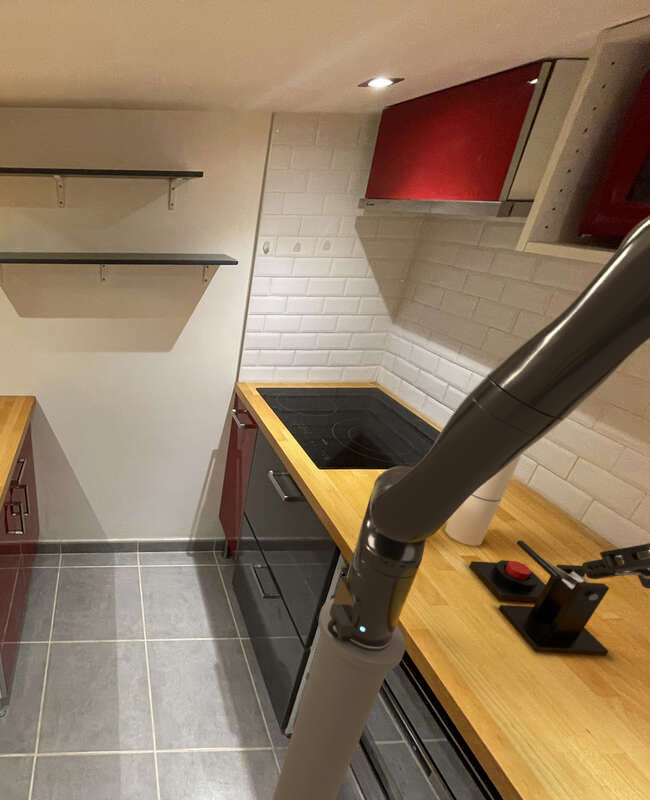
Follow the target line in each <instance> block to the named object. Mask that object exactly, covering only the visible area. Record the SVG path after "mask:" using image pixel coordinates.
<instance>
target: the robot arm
mask: <svg viewBox="0 0 650 800" xmlns="http://www.w3.org/2000/svg"><path fill="white" fill-rule="evenodd" d="M649 340H650V215H648V216H646V217H645V218H643V219H642V220H641V221H639V222H638V223H637V224H636V225H634V227H632V228H631V230H629V232H628V233H627V234H626V236H624V238H623V240H622V241H621V243H620V244H619V247H618V248H617V250H616V251H615V252H614V254H613V255H612V256H611V257H610V259H609V260H608V261H607V262H606V264H604V266H603V267H602V268H601V269H600V271H599V272H598V273H597V274H596V276H595V277H594V278H593V279H592V280H591V281H590V282H589V284H588V285H587V286H586V287H585V288H584V289H583V290H582V291H581V292H580V294H579V295H578V296H577V297H576V298H575V299H574V300H573V301H572V303H570V305H569V306H568V307H567V308H565V310H564V311H562V312H561V313H560V314H559V315H558V316H557V317H556V318H555V319H553V320H552V321H551V322H550V323H548V324H546V326H544V327H542V329H540V330H539V331H538V332H536V333H535V334H533V336H531V337H530V338H528V339H527V340H525V342H523V343H522V344H520V346H518V347H517V348H516V349H514V350H513V351H512V352H511V353H509V355H507V356H506V357H505V358H504V359H503V360H502V361H500V362H499V363H498V364H497V365H496V366H495V367H494V368H493V369H492V370H491V371H490V372H488V374H487V375H486V376H485V377H484V378H482V380H481V381H480V382H479V383H478V384H477V385H476V386H475V387H474V388H473V389H472V390H471V391H470V392H469V393H468V394H467V395H466V396H465V397H464V398H463V399H462V401H461V402H460V403H459V404H458V406H457V407H456V408H455V410H454V411H453V412H452V414H451V416H450V418H449V419H448V420H447V421H446V423H445V425H444V427H443V428H442V429H441V431H440V433H439V435H438V436H437V438H436V439H435V442H434V443H433V444H432V446H431V448H430V449H429V451H427V453H426V454H425V456H424V457H423V458H422V459H421V460H420V461H418V463H417V464H416V465H415V466H409V465H408V466H407V465H398V466H393V467H391V468H388V469H386V470H384V471H383V472H382V473H380V474H379V475H378V477H377V478H376V479H375V480H374V483H373V485H372V489H371V493H370V494H369V495H370V496H369V499H368V502H367V506H366V509H365V513H364V516H363V519H362V523H361V525H360V526H361V527H360V530H359V534H358V537H357V541H356V545H355V548H354V552H353V554H352V558H351V561H350V564H349V568H348V571H347V573H346V576H343V575H342V576H341V577H340V578H339V582H338V585H337V589H336V593H335V595H334V598H335V599H334V602H333V604H332V606H331V609H330V613H329V614H330V616H331V618H332V619H331V620H330V621H329V623H328V631H329V632H330V633H331V634H332V635H333V637H334V638H337V637H338V634H339V636H341V638H342V640H343V641H344V642H350V643H352V644H353V645H355V646H357V647H359V648H362V649H365V650H369V651H381V650H384V649H386V648H387V647H388V646H389V644H390V642H391V639H392V635H393V632H394V630H395V627H396V625H398V622H399V619H400V616H401V614H402V613H403V612H402V611H403V609H404V607H405V604H406V602H407V599H408V596H409V594H410V591H411V588H412V586H413V584H414V581H415V578H416V577H417V574H418V571H419V569H420V566H421V564H422V560H423V556H424V551H425V548H426V547H425V546H426V542H427V539H428V538H430V537H432V536H433V535H435V534H436V533H437V532H438V531H439V530H440V529H441V528H442V527H443V526H444V525H445V524H446V522H448V521H449V518H450V517H451V516H452V515H453V513H454V512H455V511H456V510H457V509H458V508H459V507H460V506H461V505H462V504H463V503H464V502H465V501H466V500H467V499H468V498H469V497H470V496H471V495H472V494H473V493H474V492H475V491H476V490H477V489H478V488H479V487H481V486H482V485H483V484H484V483H486V482H487V481H488V480H490V479H491V478H492V477H493V476H495V475H496V474H497V473H499V472H500V471H501V470H502V469H504V468H505V467H506V466H507V465H509V464H510V463H511V462H512V461H513V460H515V459H516V458H517V457H518V456H519V455H521V454H522V455H523V453H525V451H527V450H528V449H530V448H531V447H532V446H534V445H535V444H536V443H538V442H539V441H540V440H541V439H543V438H544V437H545V436H547V434H548V433H550V432H552V430H554V429H555V428H556V427H557V426H558V425H560V424H561V423H562V422H563V421H564V420H566V419H567V418H568V417H569V416H570V415H571V414H572V413H573V412H574V411H575V410H576V409H578V407H580V406H581V405H583V404H584V402H586V401H587V400H588V398H590V397H591V396H592V395H593V394H594V393H595V392H596V391H597V390H598V389H600V387H601V386H602V385H603V384H604V383H605V382H607V380H608V379H610V377H611V376H612V375H613V374H614V373H615V372H617V370H618V369H619V368H620V367H621V366H622V365H623V364H624V363H625V361H626V360H628V359H629V357H631V355H633V353H635V352H636V351H637V350H638V349H639V348H640V347H642V346H643V345H644V344H645V343H646V342H648V341H649ZM522 455H521V456H522ZM599 555H600V557H601V559H596V560H590V561H584V562H583V563H582V565H581V566H583V569H584V571H585V576H586V578H588V579H590V580H601V579H607V578H613V577H614V578H615V577H626V576H637V578H638V579H639V582H640V584H641V586H642V587H643V588H645V589H648V590H649V589H650V570H649V569H650V542H649V543H643V544H639V545H634V546H633V545H632V546H628V547H622V548H616V549H611V550H603V551H601V552H599ZM334 625H335V627H336V630H337V632H338V634H337V633H336V632H335V631H334V629H333V626H334Z"/></svg>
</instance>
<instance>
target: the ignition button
mask: <svg viewBox="0 0 650 800" xmlns="http://www.w3.org/2000/svg"><path fill="white" fill-rule="evenodd" d="M508 561H509V562H508V564H507V566H506V568H505V571H506V572H507V573H508V574H510V575H511V576H513V577H515V578H517V579H520V580H527V579H528V577H529V575H530V573H531V571H532V570H531V569H530V568H529V567H528V566H527V565H526V564H525V563H522V562H520V561H516V560H508ZM524 564H525V565H524ZM530 570H531V571H530Z"/></svg>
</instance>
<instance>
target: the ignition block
mask: <svg viewBox="0 0 650 800" xmlns="http://www.w3.org/2000/svg"><path fill="white" fill-rule="evenodd" d="M509 561H510V560H506V559H505V560H502V559H500V560H499V561H497V562H492V561H475V560H473V561H472V560H471V562H470V564H469V565H468V568H469V569H470V570H471V571H472V572H473V574H474V575H475V576H476V577H477V578H478V579H479V580H480V581H481V583H482V584H483V586H485V587H486V588H487V590H488V591H489V592H490V593H491V594H492V595H493V596H494V597H495V599H496V600H497V601H498V602H510V603H511V602H512V603H528V604H529V603H531V604H535V603H536V601H537V600H538V598H539V596H540V594H541V593H542V591H543V589H544V587H545V585H546V584H547V583H546V584H545V582H543V580H542V579H540V577H539V576H538V575H536V574H535V573H534V572H533V571H532V570H531V569H530V571H531V573H530V575H529V577H528V579H527V580H520V579H517V578H515V577H513V576H511V575H510V574H508V573H507V572H506V571H505V568H506V566H507V564H508V562H509ZM523 564H524V565H526V564H525V563H523Z"/></svg>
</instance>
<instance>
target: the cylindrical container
mask: <svg viewBox="0 0 650 800" xmlns="http://www.w3.org/2000/svg"><path fill="white" fill-rule="evenodd" d="M522 455H523V453H522V454H521V455H519V456H518V457H517V458H516V459H515V460H513V461H512V462H511V463H510V464H509V465H507V466H506V467H505V468H504V469H502V470H501V471H500V472H499V473H497V474H496V475H495V476H493V477H492V478H491V479H490V480H488V481H487V482H486V483H484V484H483V485H482V486H481V487H479V488H478V489H477V490H476V491H475V492H474V493H473V494H472V495H471V496H470V497H469V498H468V499H467V500H466V501H465V502H464V503H463V504H462V505H461V506H460V507H459V508H458V509H457V510H456V511H455V512H454V513H453V515H452V516H451V517H450V518H449V519H448V520H447V524H446V526H445V528H444V529H445V532H446V534H447V535H448V536H449V537H450V538H451V539H453V540H455V541H456V542H459V543H461V544H463V545H467V546H476V547H477V546H480V545H481V544H482V543H483V541H484V539H485V536H486V534H487V532H488V531H489V528H490V525H491V523H492V521H493V519H494V517H495V515H496V513H497V510H498V508H499V505H500V504H501V501H502V499H503V497H504V495H505V492H506V490H507V489H508V485H509V484H510V481H511V479H512V477H513V475H514V472H515V470H516V468H517V466H518V464H519V461H520V460H521V457H522Z"/></svg>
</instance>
